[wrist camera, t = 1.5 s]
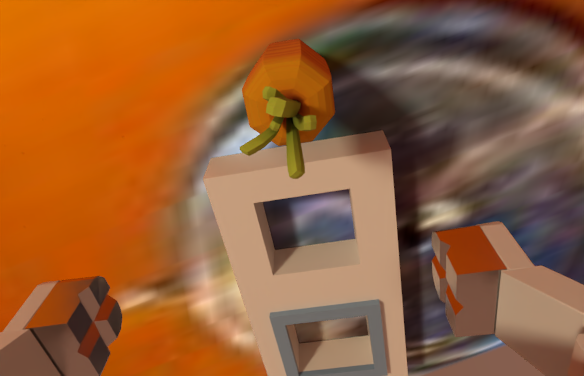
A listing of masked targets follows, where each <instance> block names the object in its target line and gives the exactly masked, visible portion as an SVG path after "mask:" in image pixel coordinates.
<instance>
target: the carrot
mask: <svg viewBox="0 0 584 376" xmlns="http://www.w3.org/2000/svg"><path fill="white" fill-rule="evenodd" d="M242 93H243V97H244V102H245V106H246V111H247V116H248V120H249V125H250V127H251V128H253V129H254V130H256V131H257V132H259V133H260V135H258V136H257V137H256V138H254V139H252V140H251V141H249V142H247V143H246V144H244V145H243V146H241V147H240V150H241V151H242V153H244V154H246V155H248V156H250V155H252V154H254V153H256V152H258V151H259V150H261V149H262V148H264V147H265V146H266V145H267V144H268V143H269V142H271V141H272V142H274V143H275V144H277V145H278V146H282V145H286V148H287V168H288V173H289V177H290V178H292V179H298V178H300V177H302V176H303V174H304V173H305V165H304V159H303V153H302V147H301V143H304V142H311V141H313V140H314V138H315V137H316V136H317V135H318V133H319V132H320V131H321V130H322V129H323V127H324V126H325V125H326V124H327V123H328V121H329V120H330V119H331V118H332V117H333V115H334V114H335V106H334V97H333V88H332V79H331V74H330V71H329V68H328V65H327V63H326V61H325V59H324V58H323V57H322V56H320V55H319V54H318V53H317V52H315V51H314V50H313V49H311V48H310V47H309V46H307V45H306V44H305V43H304V42H302V41H301V40H300V39H294V40H288V41H281V42H275V43H272V44H270V45H269V46H268V47H267V49H266V50H265V52H264V53H263V54H262V56H261V57H260V59H259V60H258V62H257V63H256V65H255V66H254V68H253V69H252V71H251V72H250V74H249V76H248V78H247V80H246V82H245V84H244V86H243V88H242Z"/></svg>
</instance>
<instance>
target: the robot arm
mask: <svg viewBox="0 0 584 376" xmlns="http://www.w3.org/2000/svg"><path fill="white" fill-rule="evenodd" d="M432 247H433V249H434V252H435V254H436V256H435V257H434V258H433V260H432V272H433V278H434V284H435V287H436V291H437V293H438V296H439V298H440V300H442V301H443V302H445V303H446V316H447V318H448V321H449V323H450V325H451V328H452V330H453V333H454V335H455V337H462V336H473V335H485V334H495V336H496V337H497V338H499V339H500V340H501V341H502V342H504V343H505V344H506V345H508V346H509V347H510V348H511V349H513V350H514V351H515V352H516V353H518V354H519V355H520V356H521V357H523V358H524V359H525V360H527V361H528V362H529V363H530V364H531V365H533V366H534V367H535V368H536V369H538V370H539V371H540V372H542V373H543V374H544V375H545V376H584V285H583V284H580V283H578V282H576V281H574V280H572V279H570V278H568V277H565V276H563V275H561V274H559V273H557V272H555V271H553V270H550V269H548V268H546V267H544V266H542V265H541V266H534V264H533V263H532V262H531V260H530V259H529V258H528V256H527V255H526V254H525V252H524V251H523V250H522V248H521V247H520V246H519V244H518V243H517V242H516V240H515V239H514V238H513V236H512V235H511V234H510V232H509V231H508V230H507V228H506V227H505V226H504V224H503V223H501V222H499V221H497V222H491V223H484V224H478V225H476V226H469V227H462V228H455V229H447V230H440V231H433V233H432ZM109 289H110V287H109V285H108V283H107V282H106V280H105V278H103V277H100V276H94V277H85V278H76V279H67V280H62V281H51V282H44V283H42V284H40V285H38V286H37V287H36V288H35V290H34V291H33V292H32V294H31V295H30V296H29V298H28V299H27V300H26V302H25V303H24V304H23V306H22V307H21V308H20V310H19V311H18V312H17V314H16V315H15V316H14V318H13V319H12V320H11V322H10V323H9V324H8V325H7V327H6V328H5V329H4V331H3V332H1V333H0V376H100V375H101V373H102V370H103V368H104V366H105V364H106V362H107V359H108V357H109V355H110V351H109V348H108V346H109V345H110V344H111V343H112V342H113V341H114V340H115V339H116V338H117V337H118V334H119V332H120V330H121V323H122V314H121V309H120V306H119V304H118V302H117V301H116V300H115V299H113V298H112V297H110V296H109V295H108V292H109Z"/></svg>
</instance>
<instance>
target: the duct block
mask: <svg viewBox="0 0 584 376" xmlns="http://www.w3.org/2000/svg"><path fill="white" fill-rule="evenodd" d="M301 147H302V153H303V159H304V165H305V173H304V174H303V176H302V177H300V178H298V179H292V178H290V177H289V173H288V168H287V148H286V146H282V147H276V148H270V149H264V150H259V151H258V152H256V153H254V154H252V155H250V156H248V155H246V154H244V153H239V154H233V155H227V156H221V157H215V158H211V159H210V162H209V165H208V167H207V170H206V172H205V175H204V177H203V181H204V184H205V187H206V190H207V193H208V196H209V199H210V202H211V205H212V208H213V211H214V214H215V217H216V220H217V223H218V226H219V229H220V232H221V235H222V238H223V241H224V244H225V247H226V250H227V254H228V257H229V260H230V263H231V266H232V269H233V272H234V275H235V278H236V281H237V284H238V287H239V290H240V293H241V296H242V299H243V302H244V305H245V308H246V311H247V314H248V317H249V320H250V323H251V326H252V329H253V332H254V335H255V338H256V341H257V344H258V347H259V350H260V353H261V356H262V359H263V363H264V366H265V369H266V372H267V375H268V376H408V371H407V358H406V344H405V331H404V317H403V304H402V290H401V277H400V263H399V249H398V236H397V222H396V209H395V195H394V182H393V168H392V155H391V148H390V146H389V143H388V141H387V139H386V136H385V134H384V132H383V130H380V131H374V132H368V133H362V134H356V135H350V136H344V137H338V138H331V139H325V140H319V141H313V142H307V143H301ZM344 189H349V195H350V202H351V210H352V217H353V224H354V232H355V239H351V240H344V241H336V242H329V243H322V244H315V245H307V246H300V247H293V248H286V249H279V250H275V248H274V244H273V240H272V237H271V233H270V229H269V225H268V221H267V217H266V213H265V209H264V206H263V202H265V201H271V200H278V199H284V198H291V197H298V196H304V195H311V194H318V193H324V192H331V191H338V190H344ZM358 316H366V320H367V328H368V335H369V336H360V337H351V338H343V339H334V340H325V341H317V342H308V343H299V341H298V337H297V334H296V330H295V326H294V324H300V323H308V322H317V321H325V320H333V319H342V318H350V317H358Z"/></svg>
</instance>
